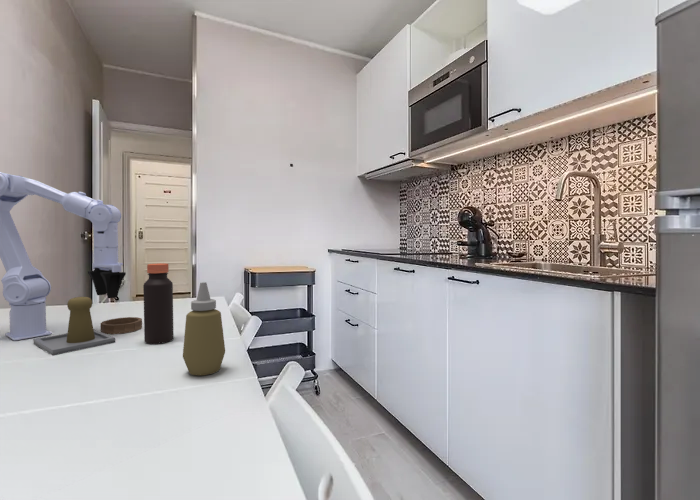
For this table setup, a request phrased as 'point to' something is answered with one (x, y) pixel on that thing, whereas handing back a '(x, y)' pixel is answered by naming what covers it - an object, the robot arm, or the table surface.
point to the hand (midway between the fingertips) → (106, 296)
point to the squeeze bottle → (203, 335)
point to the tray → (59, 344)
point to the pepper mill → (80, 320)
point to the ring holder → (121, 325)
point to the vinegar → (158, 305)
